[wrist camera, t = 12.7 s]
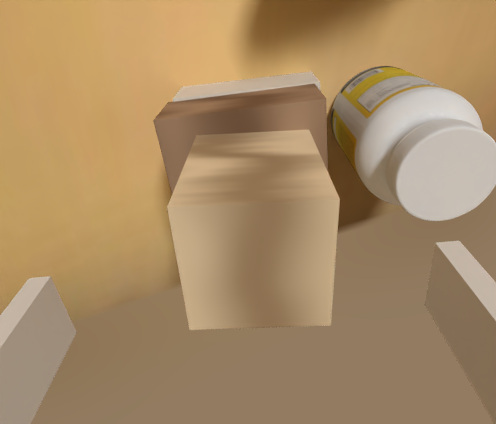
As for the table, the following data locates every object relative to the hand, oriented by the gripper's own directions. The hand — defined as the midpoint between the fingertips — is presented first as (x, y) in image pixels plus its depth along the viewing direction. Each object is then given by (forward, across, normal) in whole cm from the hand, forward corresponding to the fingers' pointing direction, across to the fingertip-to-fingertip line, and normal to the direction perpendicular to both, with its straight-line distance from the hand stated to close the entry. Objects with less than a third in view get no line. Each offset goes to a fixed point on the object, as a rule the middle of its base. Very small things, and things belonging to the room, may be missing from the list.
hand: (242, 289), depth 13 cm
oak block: (+9, +1, 0) cm, 9 cm away
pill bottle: (+17, +10, +1) cm, 20 cm away
